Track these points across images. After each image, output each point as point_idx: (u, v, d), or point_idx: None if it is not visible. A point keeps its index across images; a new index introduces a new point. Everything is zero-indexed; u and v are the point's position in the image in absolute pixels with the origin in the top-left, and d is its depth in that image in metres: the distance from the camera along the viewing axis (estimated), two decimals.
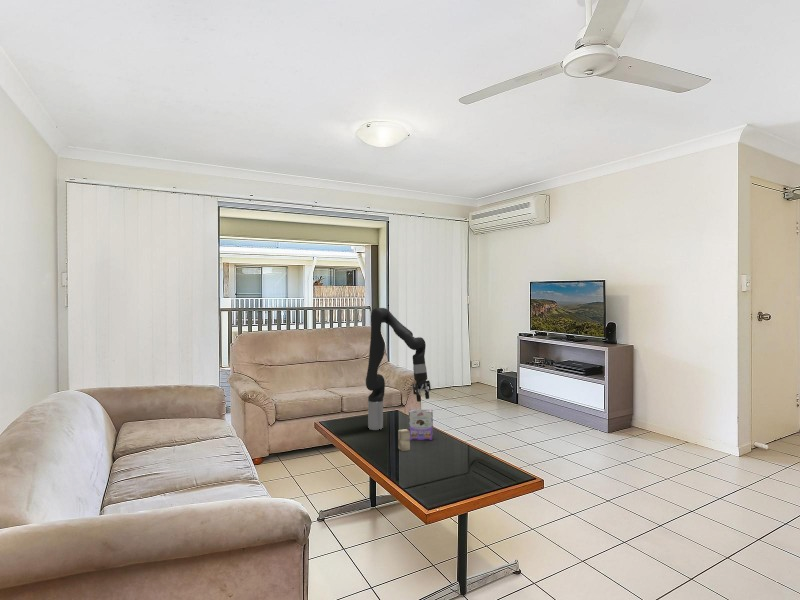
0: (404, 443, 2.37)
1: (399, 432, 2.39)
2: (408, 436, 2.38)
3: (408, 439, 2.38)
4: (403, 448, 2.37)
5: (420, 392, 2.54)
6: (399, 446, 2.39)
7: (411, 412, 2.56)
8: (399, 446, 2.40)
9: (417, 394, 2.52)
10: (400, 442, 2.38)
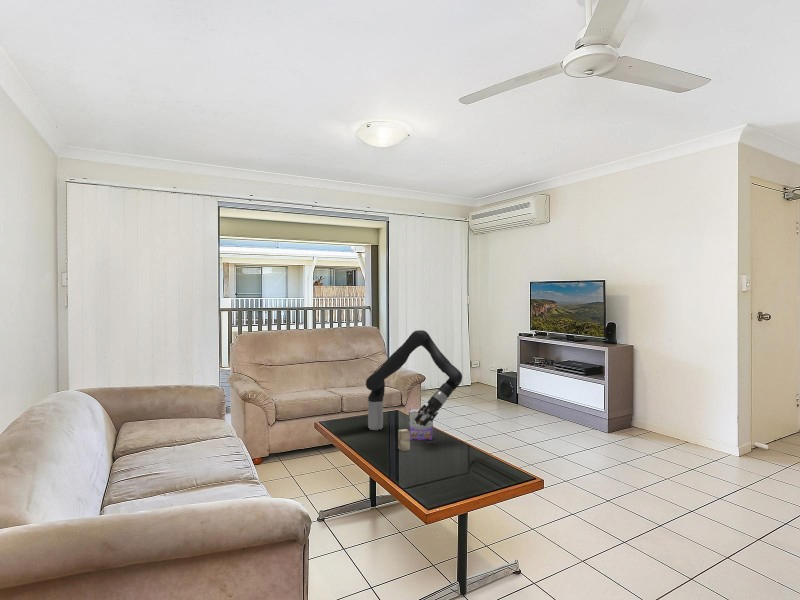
0: (404, 443, 2.37)
1: (399, 432, 2.39)
2: (408, 436, 2.38)
3: (408, 439, 2.38)
4: (403, 448, 2.37)
5: None
6: (399, 446, 2.39)
7: (411, 412, 2.56)
8: (399, 446, 2.40)
9: (430, 420, 2.39)
10: (400, 442, 2.38)
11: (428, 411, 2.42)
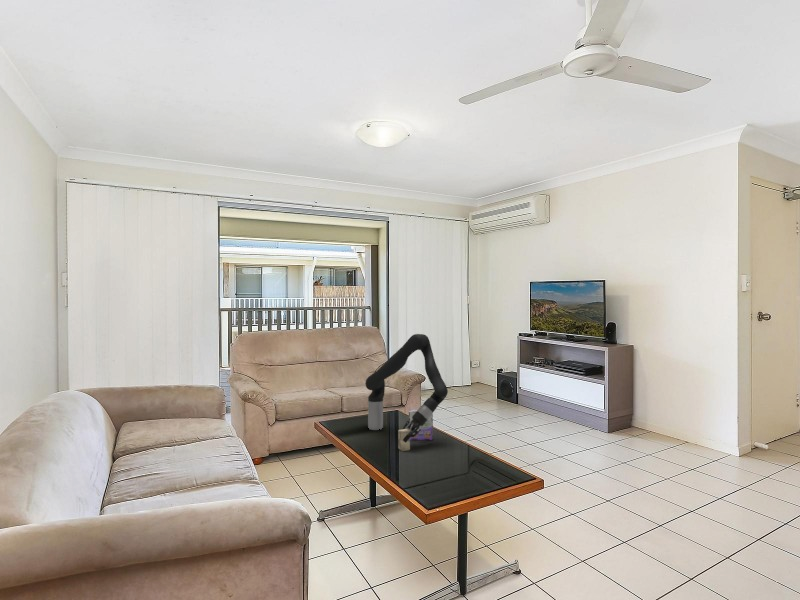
0: (404, 443, 2.37)
1: (399, 432, 2.39)
2: None
3: None
4: (403, 448, 2.37)
5: None
6: (399, 446, 2.39)
7: (411, 412, 2.56)
8: (399, 446, 2.40)
9: (411, 436, 2.36)
10: (400, 442, 2.38)
11: (411, 427, 2.39)
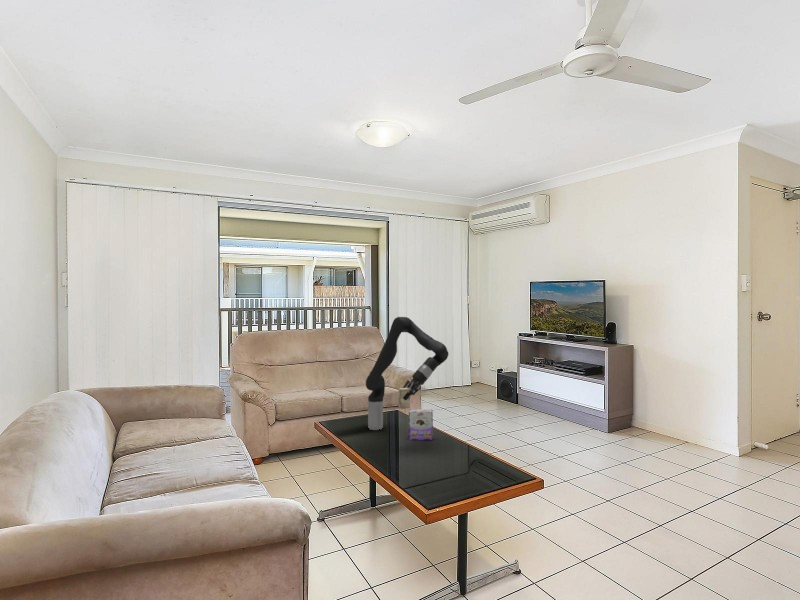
0: (404, 401, 2.37)
1: (399, 390, 2.39)
2: None
3: None
4: (403, 406, 2.37)
5: None
6: (399, 404, 2.39)
7: (411, 412, 2.56)
8: (399, 405, 2.40)
9: (411, 394, 2.36)
10: (400, 400, 2.38)
11: (411, 385, 2.39)
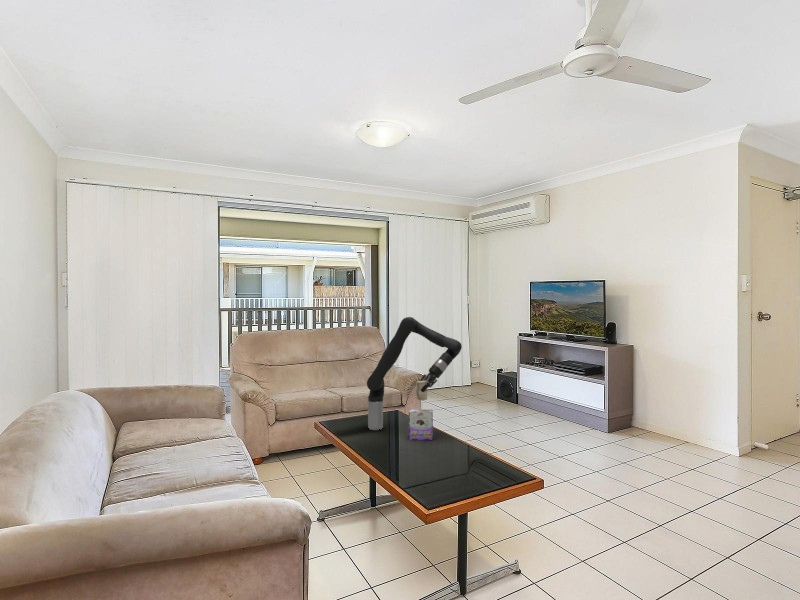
0: (422, 393, 2.56)
1: (417, 383, 2.58)
2: None
3: None
4: (421, 397, 2.56)
5: None
6: (417, 396, 2.58)
7: (411, 412, 2.56)
8: (417, 396, 2.58)
9: (428, 387, 2.55)
10: (418, 392, 2.57)
11: (428, 378, 2.57)
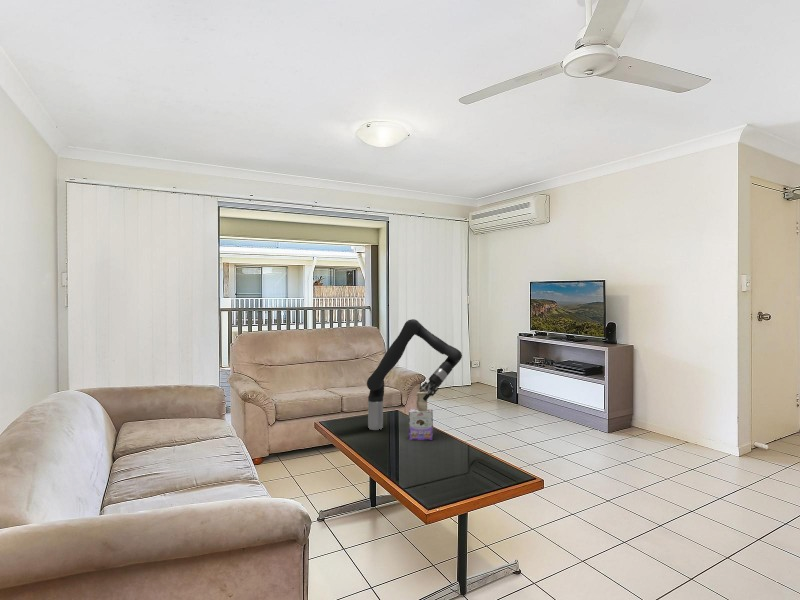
0: (422, 404, 2.56)
1: (417, 394, 2.58)
2: None
3: (426, 400, 2.57)
4: (421, 408, 2.56)
5: None
6: (417, 407, 2.58)
7: (411, 412, 2.56)
8: (417, 407, 2.58)
9: (431, 395, 2.54)
10: (418, 403, 2.57)
11: (429, 387, 2.57)
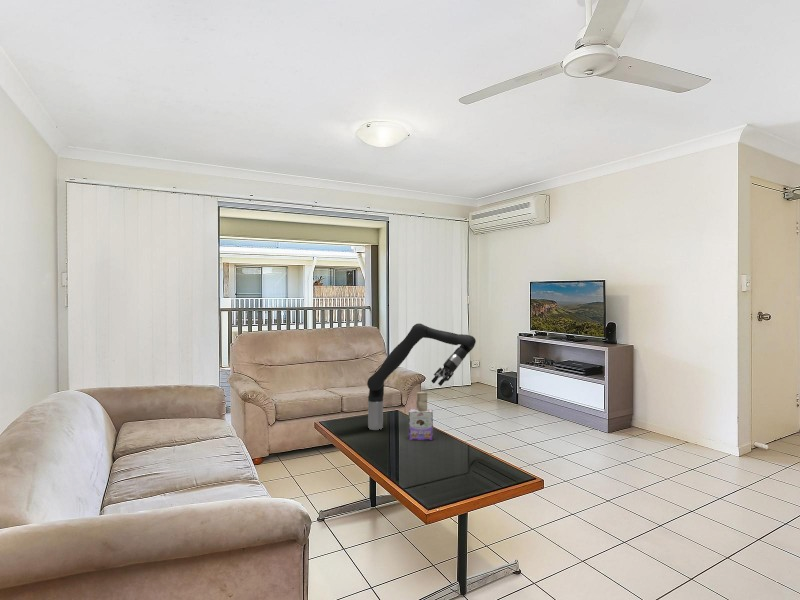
0: (422, 404, 2.56)
1: (417, 394, 2.58)
2: (426, 397, 2.57)
3: (426, 400, 2.57)
4: (421, 408, 2.56)
5: None
6: (417, 407, 2.58)
7: (411, 412, 2.56)
8: (417, 407, 2.58)
9: (446, 380, 2.58)
10: (418, 403, 2.57)
11: (444, 372, 2.61)
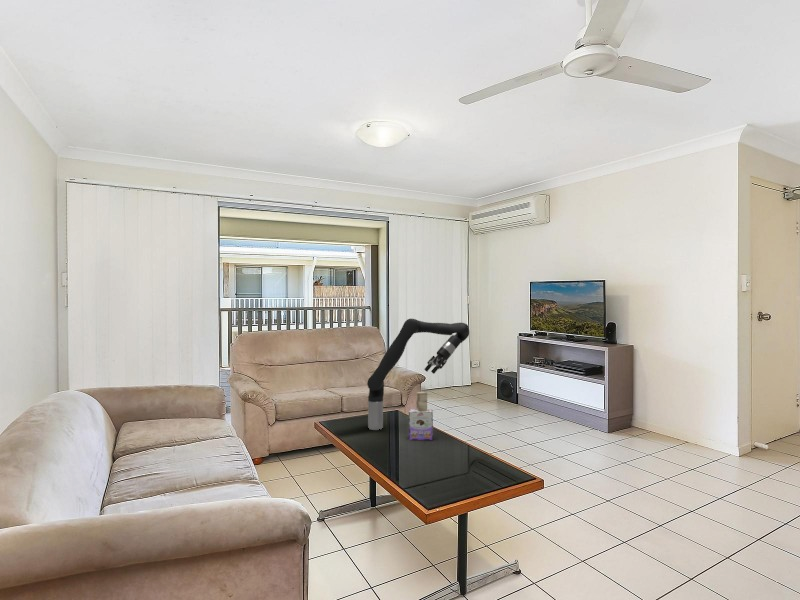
0: (422, 404, 2.56)
1: (417, 394, 2.58)
2: (426, 397, 2.57)
3: (426, 400, 2.57)
4: (421, 408, 2.56)
5: None
6: (417, 407, 2.58)
7: (411, 412, 2.56)
8: (417, 407, 2.58)
9: (439, 368, 2.54)
10: (418, 403, 2.57)
11: (437, 360, 2.57)
